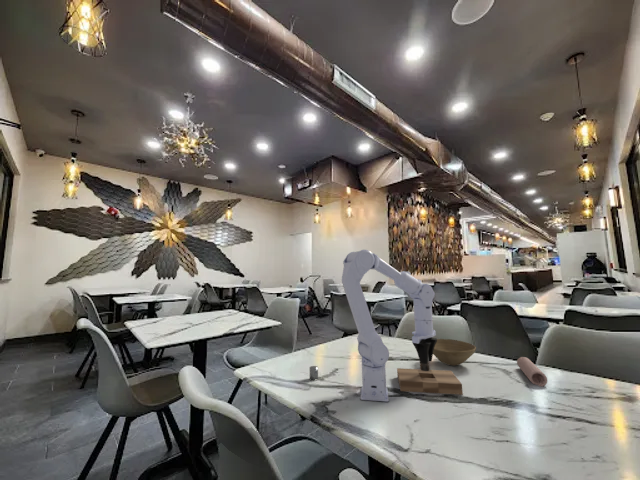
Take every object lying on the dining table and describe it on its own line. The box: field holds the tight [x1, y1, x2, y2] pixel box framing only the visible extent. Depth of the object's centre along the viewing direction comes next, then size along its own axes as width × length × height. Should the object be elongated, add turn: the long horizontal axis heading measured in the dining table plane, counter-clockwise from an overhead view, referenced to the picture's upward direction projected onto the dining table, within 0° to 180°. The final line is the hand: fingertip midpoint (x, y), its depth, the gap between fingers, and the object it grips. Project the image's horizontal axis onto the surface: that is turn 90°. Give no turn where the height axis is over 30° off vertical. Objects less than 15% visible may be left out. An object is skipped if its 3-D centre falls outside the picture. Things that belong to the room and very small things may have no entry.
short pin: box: [309, 365, 319, 381], centre depth 99 cm, size 3×3×4 cm
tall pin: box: [419, 355, 431, 371], centre depth 93 cm, size 3×3×8 cm
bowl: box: [433, 338, 477, 367], centre depth 112 cm, size 18×18×8 cm
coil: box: [516, 356, 548, 387], centre depth 97 cm, size 5×5×18 cm
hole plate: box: [396, 367, 463, 395], centre depth 91 cm, size 12×18×3 cm, turn 79°
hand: (426, 361), depth 92 cm, fingers closed on tall pin, 3 cm apart
